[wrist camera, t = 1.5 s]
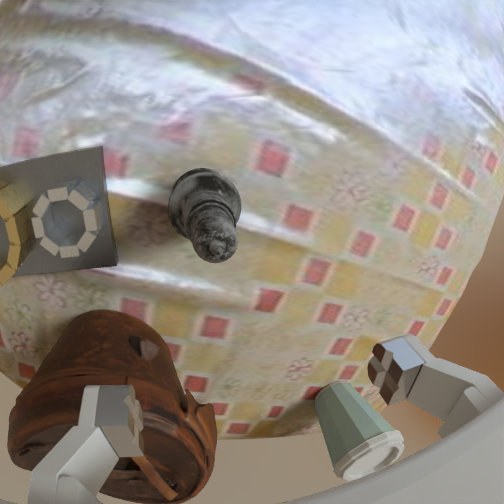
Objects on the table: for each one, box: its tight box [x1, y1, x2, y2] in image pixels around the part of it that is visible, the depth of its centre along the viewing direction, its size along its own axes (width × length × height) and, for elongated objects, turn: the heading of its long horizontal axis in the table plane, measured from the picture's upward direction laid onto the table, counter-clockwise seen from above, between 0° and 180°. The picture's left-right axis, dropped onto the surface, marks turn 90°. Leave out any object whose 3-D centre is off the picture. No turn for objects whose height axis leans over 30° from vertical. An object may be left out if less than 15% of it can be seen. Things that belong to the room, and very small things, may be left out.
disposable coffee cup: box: [315, 381, 404, 481], centre depth 39 cm, size 11×11×15 cm
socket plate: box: [0, 146, 118, 286], centre depth 23 cm, size 11×19×4 cm, turn 90°
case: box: [7, 310, 217, 504], centre depth 25 cm, size 18×20×18 cm
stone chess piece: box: [168, 168, 241, 263], centre depth 23 cm, size 6×6×12 cm
